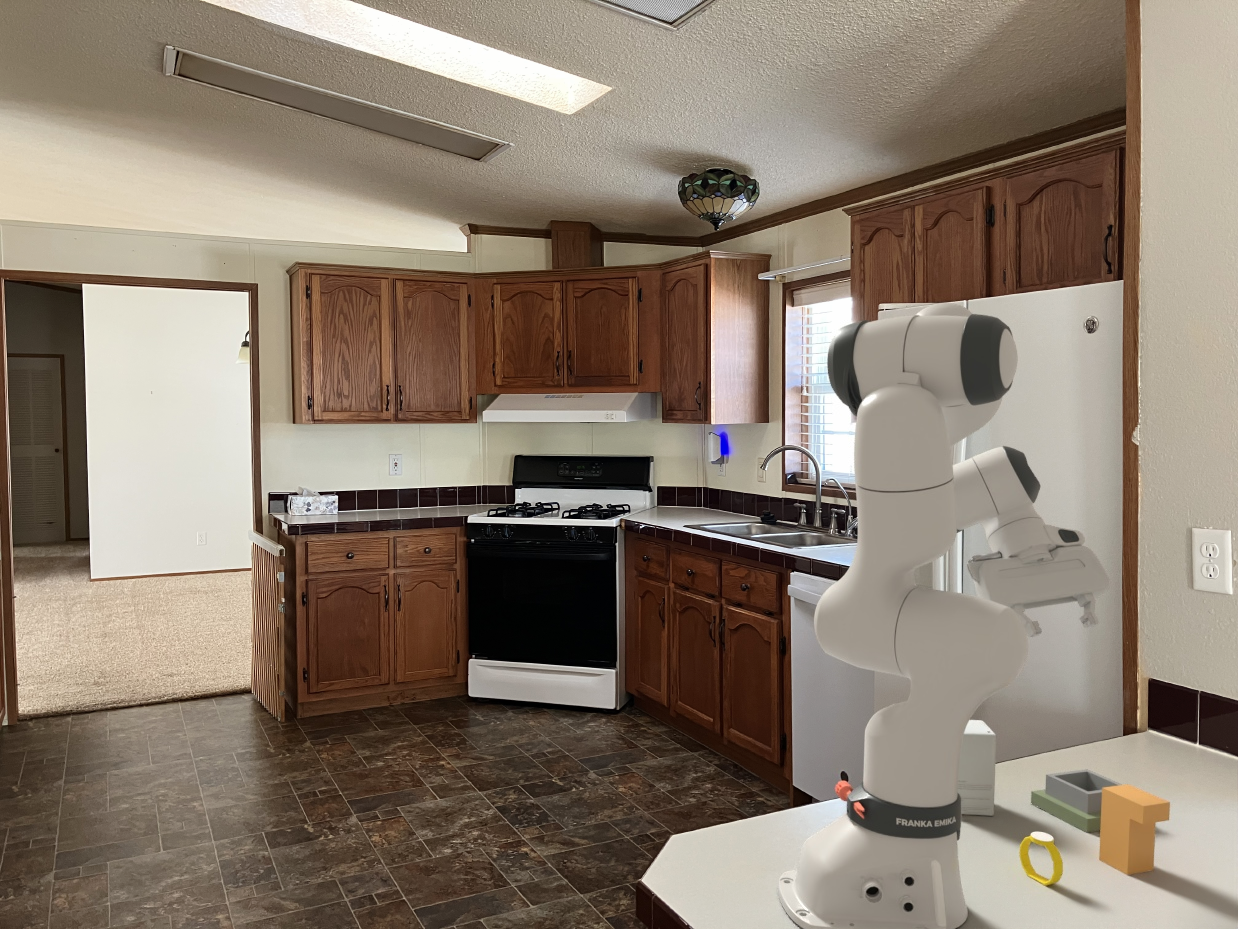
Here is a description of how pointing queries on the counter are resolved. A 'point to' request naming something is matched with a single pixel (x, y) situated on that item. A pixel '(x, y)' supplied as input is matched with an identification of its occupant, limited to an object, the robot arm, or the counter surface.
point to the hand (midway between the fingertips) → (1064, 630)
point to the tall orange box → (1130, 827)
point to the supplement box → (977, 769)
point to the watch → (1048, 842)
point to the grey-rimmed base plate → (1074, 797)
